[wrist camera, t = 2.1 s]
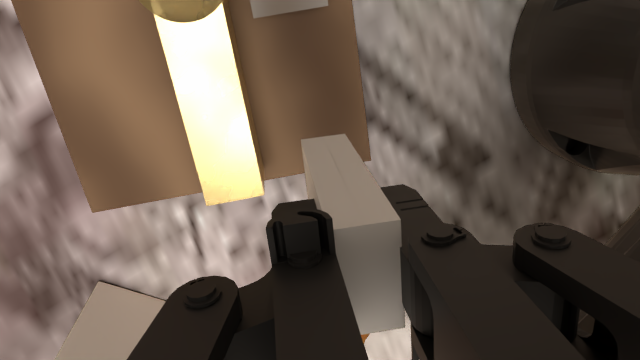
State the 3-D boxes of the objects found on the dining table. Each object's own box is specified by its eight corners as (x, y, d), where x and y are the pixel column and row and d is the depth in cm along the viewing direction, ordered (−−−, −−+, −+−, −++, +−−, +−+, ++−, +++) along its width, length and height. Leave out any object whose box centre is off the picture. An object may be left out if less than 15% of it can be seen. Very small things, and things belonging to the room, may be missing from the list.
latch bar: (135, -68, 22) (109, -83, 18) (224, -82, 22) (217, -99, 19) (202, 180, 27) (193, 208, 23) (275, 166, 27) (277, 192, 24)
